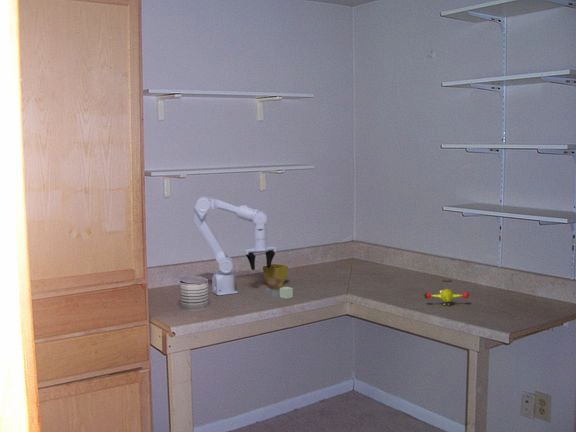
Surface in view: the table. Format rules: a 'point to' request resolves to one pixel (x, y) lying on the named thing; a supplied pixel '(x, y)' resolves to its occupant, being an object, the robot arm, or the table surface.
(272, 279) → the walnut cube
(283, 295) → the sage cube
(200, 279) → the can
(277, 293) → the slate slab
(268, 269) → the flower pot
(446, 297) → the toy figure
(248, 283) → the table surface
